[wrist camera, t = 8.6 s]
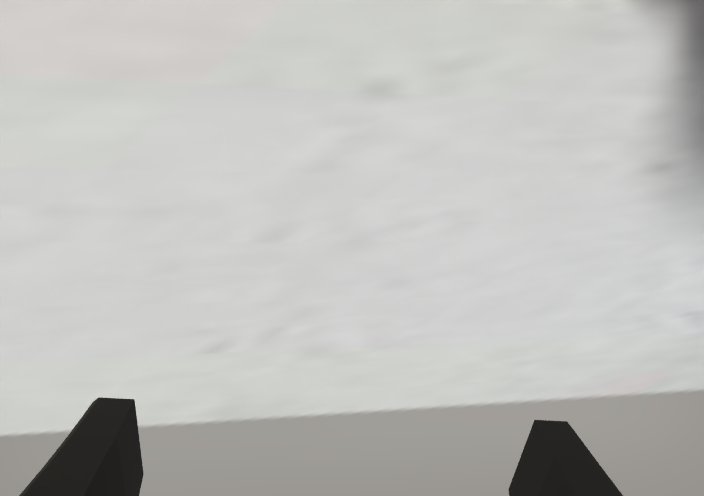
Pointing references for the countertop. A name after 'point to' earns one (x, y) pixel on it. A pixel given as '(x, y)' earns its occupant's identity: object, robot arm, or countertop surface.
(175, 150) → the countertop surface
